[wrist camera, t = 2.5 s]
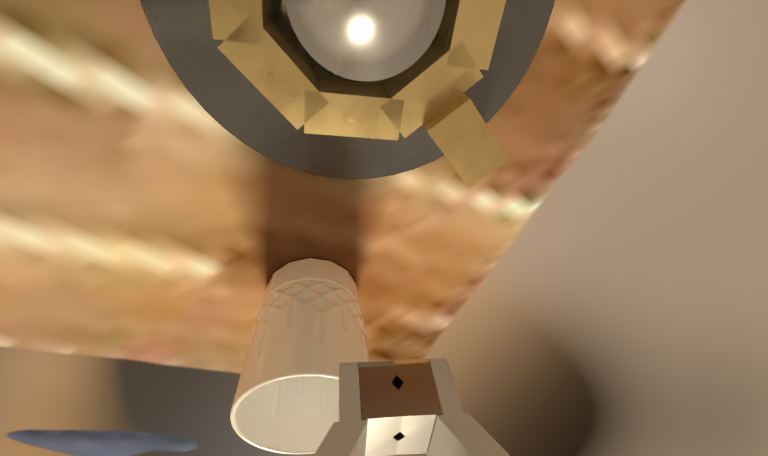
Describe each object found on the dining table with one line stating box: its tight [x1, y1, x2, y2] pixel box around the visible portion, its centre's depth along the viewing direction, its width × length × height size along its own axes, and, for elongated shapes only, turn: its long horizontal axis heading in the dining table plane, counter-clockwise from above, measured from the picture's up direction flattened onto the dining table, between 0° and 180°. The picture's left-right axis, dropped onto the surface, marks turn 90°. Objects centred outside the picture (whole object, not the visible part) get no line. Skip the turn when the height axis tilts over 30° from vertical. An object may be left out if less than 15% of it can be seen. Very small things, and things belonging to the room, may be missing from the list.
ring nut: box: [209, 0, 509, 188], centre depth 17 cm, size 16×12×4 cm
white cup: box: [230, 258, 370, 454], centre depth 25 cm, size 8×8×10 cm
